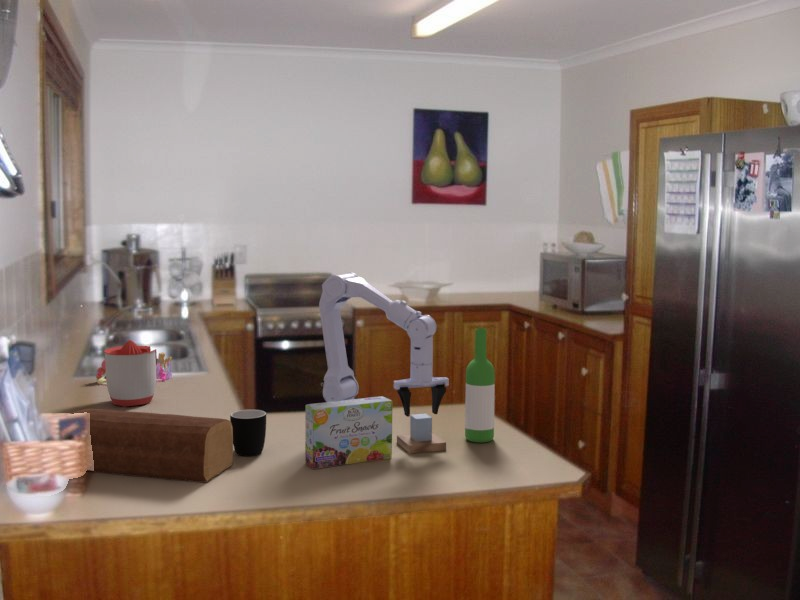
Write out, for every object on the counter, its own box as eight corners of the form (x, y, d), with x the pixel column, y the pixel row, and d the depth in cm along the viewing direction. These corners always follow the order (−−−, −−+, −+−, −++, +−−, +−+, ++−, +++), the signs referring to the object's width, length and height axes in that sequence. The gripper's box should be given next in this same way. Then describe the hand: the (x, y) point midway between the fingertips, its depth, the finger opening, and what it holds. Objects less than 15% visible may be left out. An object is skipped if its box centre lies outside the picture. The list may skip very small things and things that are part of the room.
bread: (205, 485, 194) (203, 427, 193) (57, 470, 205) (54, 415, 203) (236, 465, 209) (234, 411, 207) (96, 452, 219) (94, 400, 218)
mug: (274, 452, 218) (273, 413, 217) (244, 460, 212) (243, 420, 211) (246, 443, 227) (246, 405, 226) (217, 450, 221) (216, 411, 219)
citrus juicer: (170, 403, 270) (168, 340, 267) (114, 411, 260) (111, 346, 258) (154, 394, 282) (152, 333, 280) (100, 401, 273) (97, 338, 270)
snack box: (313, 470, 205) (312, 408, 203) (305, 464, 210) (304, 403, 208) (393, 458, 214) (393, 399, 212) (383, 452, 219) (383, 394, 217)
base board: (409, 453, 218) (409, 445, 218) (396, 442, 227) (396, 435, 227) (446, 449, 221) (446, 442, 221) (432, 439, 231) (432, 432, 230)
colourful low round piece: (121, 371, 320) (120, 347, 319) (182, 373, 317) (181, 348, 315) (88, 386, 295) (87, 359, 294) (153, 388, 292) (152, 361, 291)
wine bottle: (482, 445, 225) (483, 332, 222) (458, 439, 230) (460, 328, 227) (499, 439, 231) (501, 328, 227) (476, 433, 236) (478, 325, 233)
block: (415, 441, 221) (415, 418, 221) (410, 437, 226) (410, 414, 225) (431, 440, 223) (432, 417, 222) (426, 435, 227) (426, 413, 226)
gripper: (399, 367, 216) (399, 420, 217) (453, 364, 220) (452, 416, 222) (391, 362, 222) (390, 413, 224) (443, 359, 227) (442, 409, 228)
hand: (421, 414), depth 223 cm, fingers open, 7 cm apart
